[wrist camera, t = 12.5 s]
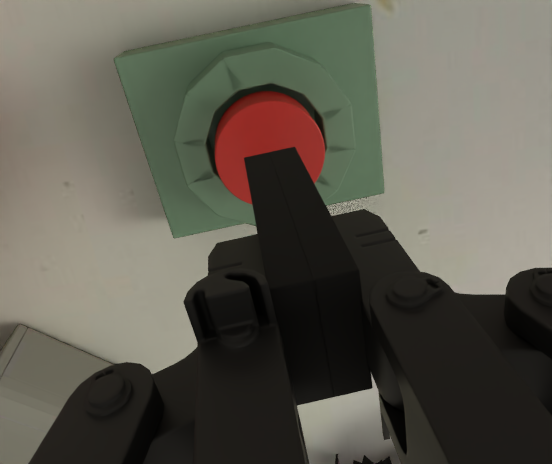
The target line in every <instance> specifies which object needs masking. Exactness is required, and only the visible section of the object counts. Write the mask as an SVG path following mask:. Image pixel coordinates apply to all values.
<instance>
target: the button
mask: <svg viewBox="0 0 552 464" xmlns="http://www.w3.org/2000/svg"><path fill="white" fill-rule="evenodd" d="M291 147H295V148H296V149H297V151H298V153H299V155H300V157H301V159H302V161H303V163H304V165H305V167H306V169H307V171H308V173H309V174H310V176H311V178H312V180H313V182H314V184H315V182H316V181H317V179H318V177H319V175H320V173H321V171H322V168H323V164H324V159H325V145H324V140H323V136H322V133H321V131H320V129H319V127H318V125H317V124H316V122H315V121H314V120H313V118H312V117H311V116H310V114H309V113H308V111H307V110H306V109H305V108H304V107H303V106H302V105H301V104H300V103H299V102H298V101H297V100H295V99H293V98H292V97H290V96H288V95H285V94H283V93H279V92H274V91H260V92H255V93H251V94H248V95H246V96H244V97H242V98H240V99H238V100H237V101H236V102H234V103H233V104H232V105H231V106H230V107H229V108H228V109H227V110H226V111H225V113H224V114H223V116H222V117H221V119H220V121H219V124H218V126H217V130H216V134H215V163H216V169H217V171H218V174H219V177H220V179H221V181H222V182H223V184H224V185H225V187H226V188H227V189H228V190H229V191H230V192H231V193H232V194H233V195H234V196H236V197H237V198H239V199H240V200H242V201H244V202H246V203H249V204H252V200H251V194H250V189H249V183H248V178H247V173H246V167H245V162H244V157H249V156H254V155H258V154H263V153H267V152H272V151H277V150H281V149H286V148H291Z"/></svg>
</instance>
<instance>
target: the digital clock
mask: <svg viewBox="0 0 552 464" xmlns="http://www.w3.org/2000/svg"><path fill="white" fill-rule="evenodd" d="M111 365H114V364H111V363H109V362H107V361H104V360H102V359H100V358H97V357H95V356H93V355H90V354H88V353H86V352H83V351H81V350H79V349H77V348H74V347H72V346H70V345H67V344H65V343H63V342H60V341H58V340H56V339H53V338H51V337H49V336H46V335H44V334H42V333H40V332H37V331H35V330H33V329H30V328H27V327H26V326H23V325H21V324H19V325H18V326H17V327H16V329H15V330H14V332H13V333H12V335H11V336H10V338H9V339H8V341H7V342H6V344H5V345H4V347H3V348H2V350H1V351H0V464H28V463H29V462H30V460H31V458H32V457H33V455H34V454H35V452H36V450H37V449H38V447H39V445H40V444H41V442H42V441H43V439H44V437H45V436H46V434H47V432H48V431H49V429H50V428H51V426H52V424H53V423H54V421H55V419H56V418H57V416H58V415H59V413H60V411H61V410H62V408H63V406H64V405H65V403H66V402H67V400H68V398H69V397H70V396H71V394H72V393H73V392H74V391H75V390H76V388H77V387H78V386H79V385H80V384H81V383H82V382H83V381H85V380H86V379H87V378H89V377H90V376H91V375H93V374H94V373H96V372H98V371H100V370H102V369H104V368H106V367H109V366H111Z"/></svg>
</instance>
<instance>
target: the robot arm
mask: <svg viewBox="0 0 552 464" xmlns="http://www.w3.org/2000/svg"><path fill="white" fill-rule="evenodd" d="M244 162H245V167H246V173H247V178H248V183H249V189H250V194H251V200H252V205H253V211H254V216H255V222H256V227H257V233H258V234H256V235H252V236H247V237H243V238H238V239H234V240H229V241H224V242H220V243H217V244H216V246H215V247H214V249H213V250H212V252H211V253H210V255H209V256H208V271H209V272H208V276H207V277H205V278H203V279H202V280H200V281H198V282H197V283H196V284H195V285H194V286H193V287H192V288H191V289H190V290H189V291H188V292H187V295H186V297H185V300H184V305H185V308H186V311H187V313H188V316H189V319H190V322H191V325H192V328H193V331H194V333H195V336H196V339H197V342H198V347H197V348H196V349H195V350H194V351H193V352H192V353H190V354H189V355H188V356H187V357H186V358H184V359H182V360H181V361H179V362H177V363H175V364H174V365H172V366H169V367H167V368H165V369H163V370H161V371H159V372H157V373H155V374H153V375H152V374H151V372H150V370H149V369H147V368H146V367H144V366H143V365H141V364H137V363H128V362H126V363H121V364H116V365H111V366H109V367H106V368H104V369H102V370H100V371H98V372H96V373H94V374H93V375H91V376H90V377H89V378H87V379H86V380H85V381H83V382H82V383H81V384H80V385H79V386H78V387H77V388H76V390H75V391H74V392H73V393H72V394H71V396H70V397H69V398H68V400H67V402H66V403H65V405H64V406H63V408H62V410H61V411H60V413H59V415H58V416H57V418H56V419H55V421H54V423H53V424H52V426H51V428H50V429H49V431H48V432H47V434H46V436H45V437H44V439H43V441H42V442H41V444H40V445H39V447H38V449H37V450H36V452H35V454H34V455H33V457H32V458H31V460H30V462H29V463H28V464H309V460H308V455H307V450H306V446H305V441H304V436H303V431H302V427H301V422H300V418H299V414H298V409H297V405H301V404H305V403H310V402H314V401H318V400H323V399H327V398H331V397H336V396H340V395H345V394H349V393H353V392H358V391H362V390H367V389H371V388H372V380H371V373H372V376H373V378H374V380H375V383H376V385H377V388H378V391H379V400H380V410H381V420H382V429H383V436H384V440H387V439H390V436H391V438H392V441H393V443H394V446H395V448H396V451H397V454H398V456H399V459H400V461H401V464H552V268H533V269H530V270H526V271H522V272H519V273H518V274H516V275H515V276H513V277H512V278H510V280H509V282H508V285H507V287H506V295H471V294H459V293H455V292H454V291H453V290H452V289H451V288H450V286H449V285H448V284H446V283H445V282H444V281H443V280H442V279H440V278H439V277H436V276H434V275H431V274H428V273H425V272H420V271H419V270H418V268H417V267H416V265H415V264H414V263H413V261H412V260H411V259H410V257H409V256H408V255H407V253H406V252H405V250H404V249H403V248H402V246H401V245H400V244H399V242H398V241H397V240H395V237H394V235H393V234H392V233H391V231H389V230H388V227H387V226H386V225H385V223H384V222H383V220H382V219H381V218H380V217H379V216H377V215H375V214H373V213H371V212H369V211H367V210H365V209H363V210H358V211H354V212H349V213H345V214H340V215H335V216H331V215H330V213H329V211H328V209H327V207H326V205H325V203H324V201H323V199H322V198H321V196H320V194H319V192H318V190H317V188H316V186H315V184H314V182H313V180H312V178H311V176H310V174H309V173H308V171H307V169H306V167H305V165H304V163H303V161H302V159H301V157H300V155H299V153H298V151H297V149H296V148H295V147H291V148H286V149H281V150H277V151H272V152H267V153H263V154H258V155H254V156H249V157H244Z"/></svg>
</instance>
